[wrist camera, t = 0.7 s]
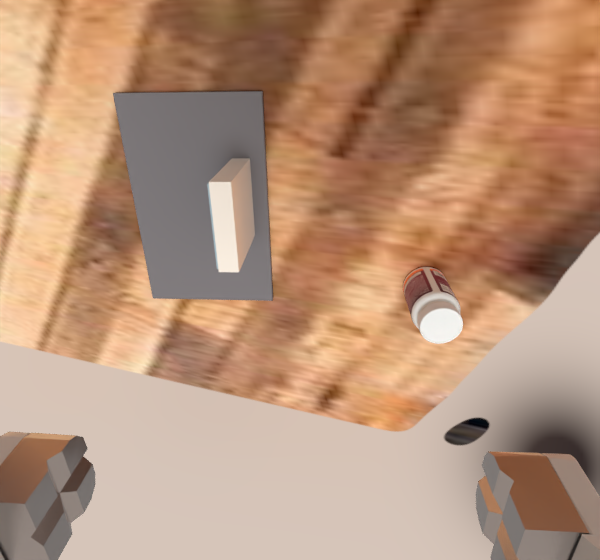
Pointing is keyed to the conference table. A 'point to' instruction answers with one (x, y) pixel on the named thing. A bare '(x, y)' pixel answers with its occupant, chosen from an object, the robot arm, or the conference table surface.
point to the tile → (232, 214)
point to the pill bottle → (432, 305)
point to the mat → (194, 187)
